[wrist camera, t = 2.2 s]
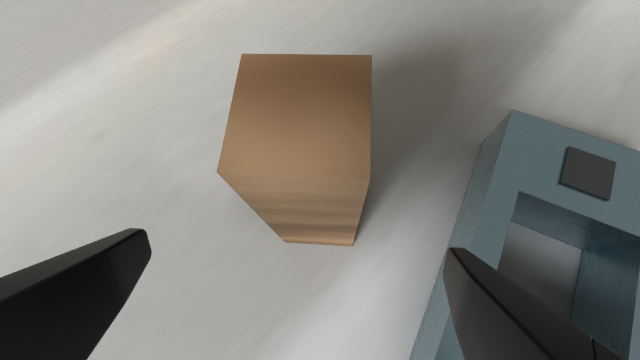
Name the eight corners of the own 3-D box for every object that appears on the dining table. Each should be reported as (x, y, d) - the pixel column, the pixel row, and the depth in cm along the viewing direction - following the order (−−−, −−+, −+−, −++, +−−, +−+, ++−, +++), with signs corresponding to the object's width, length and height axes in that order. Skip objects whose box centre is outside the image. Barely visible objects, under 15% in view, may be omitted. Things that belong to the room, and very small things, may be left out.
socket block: (577, 464, 15) (659, 521, 11) (405, 370, 17) (425, 391, 13) (620, 190, 20) (687, 165, 16) (483, 141, 22) (514, 108, 18)
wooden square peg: (352, 246, 20) (370, 178, 9) (284, 242, 20) (216, 172, 9) (354, 182, 21) (371, 55, 10) (291, 179, 22) (241, 53, 11)
